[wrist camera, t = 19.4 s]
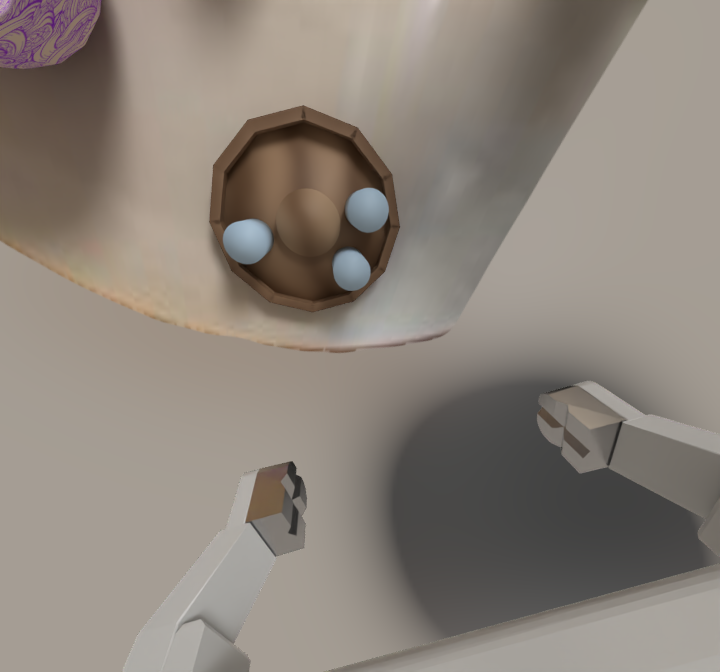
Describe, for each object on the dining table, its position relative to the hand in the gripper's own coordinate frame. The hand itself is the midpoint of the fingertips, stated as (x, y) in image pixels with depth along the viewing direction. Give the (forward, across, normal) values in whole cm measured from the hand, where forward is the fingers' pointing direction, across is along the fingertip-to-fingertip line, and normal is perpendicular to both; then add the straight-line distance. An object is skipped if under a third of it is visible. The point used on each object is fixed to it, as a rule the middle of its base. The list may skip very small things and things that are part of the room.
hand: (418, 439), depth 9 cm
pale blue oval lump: (+28, +9, -6) cm, 30 cm away
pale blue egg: (+28, 0, 0) cm, 28 cm away
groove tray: (+29, +3, -6) cm, 30 cm away
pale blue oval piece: (+28, -3, -6) cm, 29 cm away
